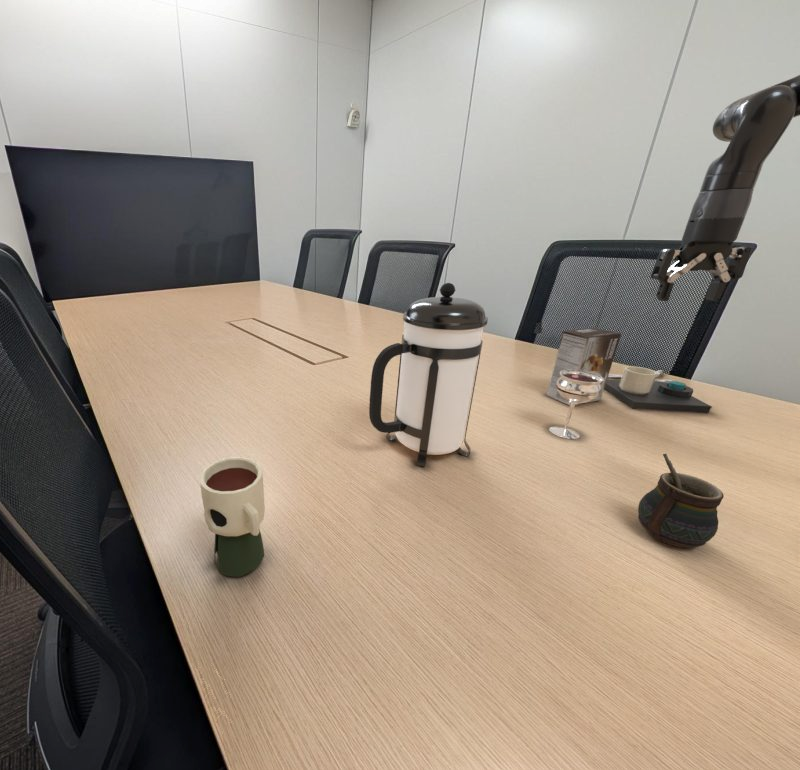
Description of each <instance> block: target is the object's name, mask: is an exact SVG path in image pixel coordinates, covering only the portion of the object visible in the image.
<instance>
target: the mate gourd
mask: <svg viewBox="0 0 800 770" xmlns="http://www.w3.org/2000/svg"><path fill="white" fill-rule="evenodd" d="M662 456H663V458H664V461H665V463H666V466H667V468H668V470H669V472H665V473H662V474H661V475H660V476H659V479H658V481H657V485H656V486H655V487H654V488H653V489H652V490H650V491H648V492H646V493H645V494H644V495H643V496H642V497H641V499H640V501H639V502H638V508H637V510H638V511H637V513H638V515H637V519H638V521H639V523H640V524H641V526H642V527H643V529H645V530H646V532H647V533H649V534H650V535H651V537H654V538H655V540H658V541H659V542H662V543H665V544H667V545H670V546H673V547H678V548H686V549H687V548H689V549H690V548H691V549H692V548H699V547H703V546H705V544H707V543H708V542H710V540H711V539H713V538H714V537H715V536H716V534H717V532H718V530H719V517H718V507H719V506H720V505H721V503H722V501H723V499H724V496H725V495H724V492H723V491H722V490H721V489H720V488H718V487H717V486H716V485H714V484H712V483H711V482H709V481H707V480H705V479H702V478H699V477H696V476H693V475H690V474H685V473H680V472H677V471H676V469H675V467H674V465H673V462H672V461H671V459H669V457H668V455H667V453H662Z"/></svg>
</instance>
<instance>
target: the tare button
mask: <svg viewBox="0 0 800 770" xmlns="http://www.w3.org/2000/svg"><path fill="white" fill-rule="evenodd" d="M685 386H687V384H686V383H685V382H682V381H678V380H676V381H675V380H672V381H670V383H669V386H668V387H670V388H673V389H678V390H684V388H685Z"/></svg>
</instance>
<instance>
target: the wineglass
mask: <svg viewBox="0 0 800 770" xmlns="http://www.w3.org/2000/svg"><path fill="white" fill-rule="evenodd" d="M560 375H561V377H560V378H559V379H558V381H557V382H556V388H557V391H558V392H559V394H560V395H561V396H562V397H563V398H564V399H566V400H568V402H569V403H570V405H569V406H568V412H567V414H566V415H567V416H566V420H565V424H564V426H558V425H555V426H551V427H549V429H548V430H549V432H550V433H551V434H553V435H555V436H557V437H560V438H563V439H568V440H575V439H576V440H577V439H579V438H580V437H581V435H580V433H578V431H575V430H574V429H573V428H569V427H568V426H569V424H570V420H571V418H572V415H573V412H574V409H575V407H576V405H579V404H578V403H581V404H584V403H583V402H587V403H589V402H588V401H590V400H592V399H594V398H596V397H597V396H598V395H599V393H600V391H601V385H600V383H602V382H603V381H604V379H603V377H601V376H599V375H597V374H594V373H590V372H586V371H580V370H563V371H560ZM575 404H576V405H575Z"/></svg>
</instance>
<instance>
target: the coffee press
mask: <svg viewBox="0 0 800 770" xmlns="http://www.w3.org/2000/svg"><path fill="white" fill-rule="evenodd" d="M456 291H457V290H456V287H455V285H454V284H453V283H451V282H445V283H443V284H442V285H441V287H440V288H439V292H440V295H441V296H433V297H431V296H430V297H425V298H420V299H418V300H415V301H413V302H412V303H411V304H409V306H408V307H407V309H406V311H405V312H404V313H402V320H403V323H404V325H403V327H404V328H403V334H402V336H401V342H400V343H399V342H395V343H393V344H390V345H388V346H386V347H385V348H383V349H382V350H381V351H380V352H379V354H378V355H377V357H376V358H375V360H374V362H373V365H372V371H371V376H370V377H371V378H370V387H369V388H370V391H369V405H368V406H369V407H368V413H369V414H368V415H369V416H368V417H369V421H370V423H371V425H372V426H373V427H374V429H376V430H377V431H378V432H380V433H382V434H383V433H384V434H386V436H385V437H386V439H387V441H390V442H392V441H394V440H396V439H397V440H398V442H399V443H401V444H402V445H403V446H404V447H406V448H408V449H410V450H412V451H414V452H417V453H418V455H417V459H416V460H417V461H416V466H419V467H424V468H425V467H426V464H427V459H428V455H433V456H439V455H441V456H442V455H447V454H451V453H454V452H456V451H458V453H460V455H461V456H463V457H469V456H470V455H471V446H470V444H469V443H468V441H467V440H466V437H467V432H468V426H469V420H470V414H471V410H472V409H471V408H472V403H473V398H474V392H475V386H476V381H477V375H478V369H479V364H480V359H481V353H482V348H483V342H484V341H483V339H482V338H483V332H484V328H485V327H486V326H487V325H488V321H489V317H487V315H486V313H485V309H484V308H483V306H481V304H479V303H477V302H475V301H473V300H470V299H466V298H461V297H452V296H453V295H454V294H455V292H456ZM398 356H399V365H398V376H397V377H398V378H397V386H396V388H397V389H396V396H395V397H396V399H395V406H394V407H395V408H394V416H393V417H394V418H393V419H394V420H393V421H389V422H384V421H383V419H382V402H383V401H382V400H383V390H384V378H385V370H386V367H387V366H388V364H389V362H390V361H391V360H392V359H393V358H394V357H398ZM392 433H394V434H395V435H394V436H390V434H392ZM463 444H464V445H465V448H466V449H467V451H464V450H463V449H462V448H461V446H462V445H463Z"/></svg>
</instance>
